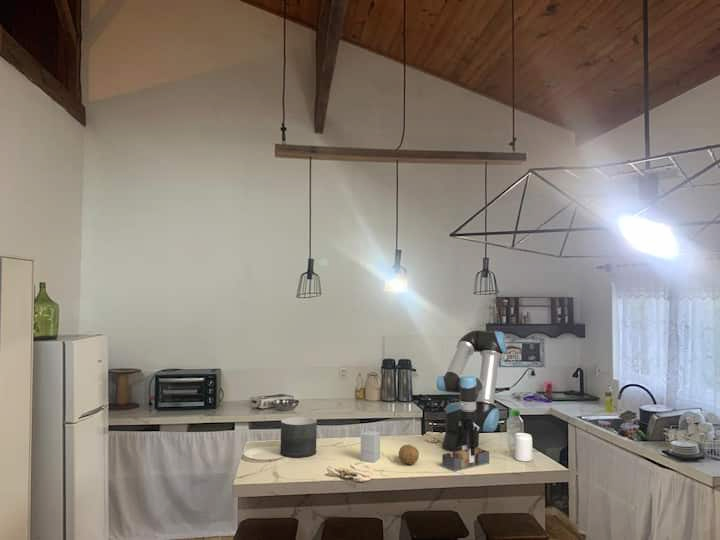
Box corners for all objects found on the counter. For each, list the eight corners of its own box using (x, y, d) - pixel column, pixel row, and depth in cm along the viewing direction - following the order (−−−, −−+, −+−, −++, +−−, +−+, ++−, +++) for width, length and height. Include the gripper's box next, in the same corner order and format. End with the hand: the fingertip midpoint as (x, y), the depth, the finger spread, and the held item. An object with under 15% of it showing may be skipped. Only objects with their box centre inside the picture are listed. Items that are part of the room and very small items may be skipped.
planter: (273, 455, 259) (274, 422, 260) (291, 446, 275) (292, 415, 276) (305, 459, 252) (306, 426, 253) (322, 450, 268) (322, 418, 269)
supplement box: (380, 458, 255) (380, 432, 256) (374, 462, 249) (374, 435, 249) (366, 456, 258) (366, 430, 259) (360, 460, 252) (360, 433, 252)
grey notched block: (454, 471, 237) (454, 458, 237) (442, 466, 244) (442, 454, 244) (489, 463, 249) (489, 451, 250) (476, 459, 256) (476, 447, 256)
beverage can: (533, 463, 251) (533, 437, 252) (515, 461, 253) (515, 436, 254) (531, 458, 259) (531, 433, 260) (514, 457, 261) (514, 432, 262)
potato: (415, 458, 256) (415, 441, 256) (421, 467, 242) (421, 449, 243) (395, 459, 255) (395, 442, 256) (400, 468, 241) (400, 450, 242)
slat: (457, 467, 241) (457, 454, 241) (452, 465, 244) (452, 452, 244) (482, 461, 250) (482, 448, 250) (476, 460, 253) (476, 447, 253)
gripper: (449, 407, 254) (449, 457, 252) (475, 413, 240) (475, 467, 238) (461, 406, 258) (460, 455, 256) (487, 412, 244) (487, 464, 242)
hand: (467, 460), depth 247 cm, fingers closed on slat, 4 cm apart
